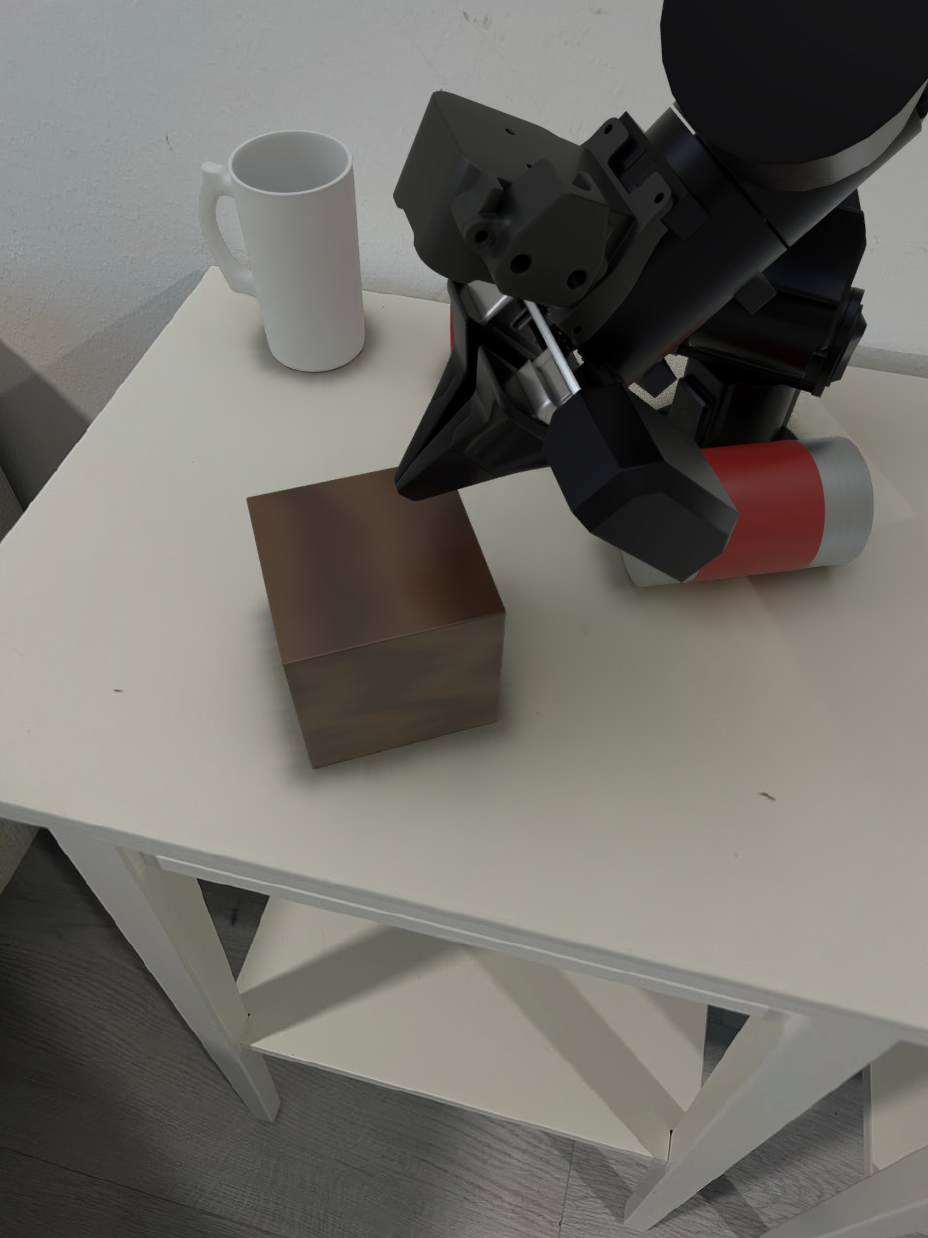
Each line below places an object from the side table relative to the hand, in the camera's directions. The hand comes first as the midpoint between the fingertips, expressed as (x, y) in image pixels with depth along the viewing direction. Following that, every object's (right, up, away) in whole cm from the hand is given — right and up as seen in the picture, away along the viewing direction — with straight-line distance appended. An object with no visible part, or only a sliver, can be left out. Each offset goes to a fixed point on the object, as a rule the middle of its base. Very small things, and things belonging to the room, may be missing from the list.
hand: (403, 491), depth 36 cm
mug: (-9, +13, +24) cm, 29 cm away
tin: (+22, +1, +12) cm, 25 cm away
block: (-2, -7, +9) cm, 12 cm away
